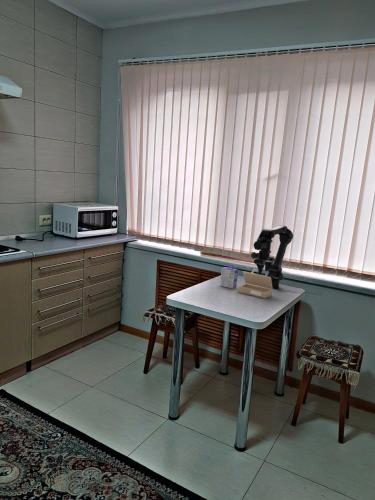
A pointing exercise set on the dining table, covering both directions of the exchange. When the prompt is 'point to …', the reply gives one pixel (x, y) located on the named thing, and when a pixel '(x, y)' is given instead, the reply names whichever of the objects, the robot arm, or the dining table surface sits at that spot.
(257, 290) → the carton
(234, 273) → the ink cartridge box
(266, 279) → the flap
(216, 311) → the dining table surface
